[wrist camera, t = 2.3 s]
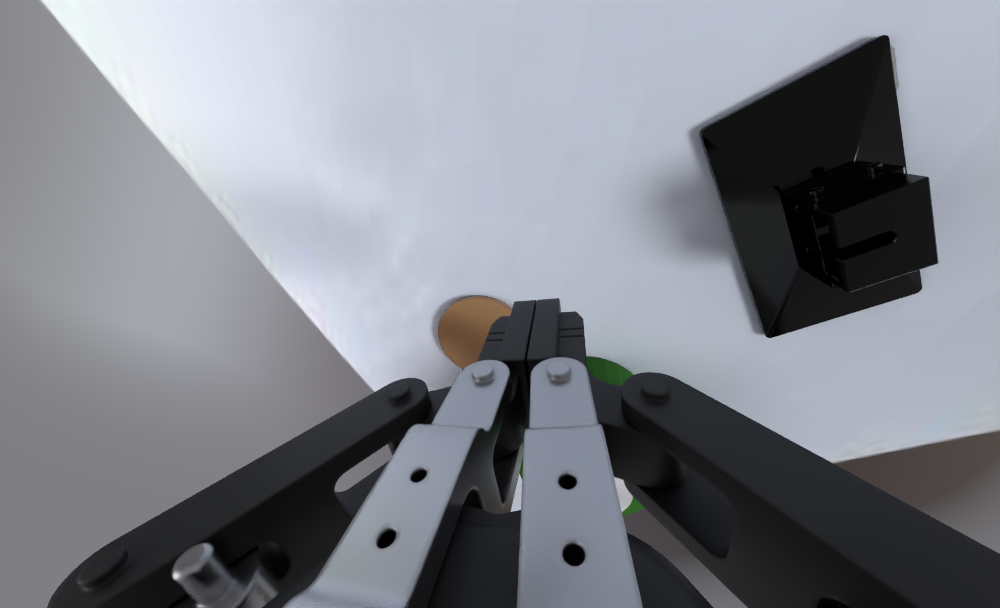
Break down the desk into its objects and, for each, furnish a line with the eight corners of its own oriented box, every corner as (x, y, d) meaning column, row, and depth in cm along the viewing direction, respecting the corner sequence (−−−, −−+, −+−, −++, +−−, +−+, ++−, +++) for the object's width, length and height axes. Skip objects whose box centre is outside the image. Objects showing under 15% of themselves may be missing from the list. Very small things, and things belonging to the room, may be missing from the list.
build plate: (696, 130, 17) (738, 130, 13) (887, 29, 14) (1018, -11, 10) (763, 336, 21) (812, 388, 16) (923, 286, 18) (1028, 333, 14)
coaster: (430, 299, 23) (428, 301, 23) (520, 292, 22) (519, 294, 22) (450, 372, 26) (448, 376, 25) (532, 370, 24) (531, 374, 24)
